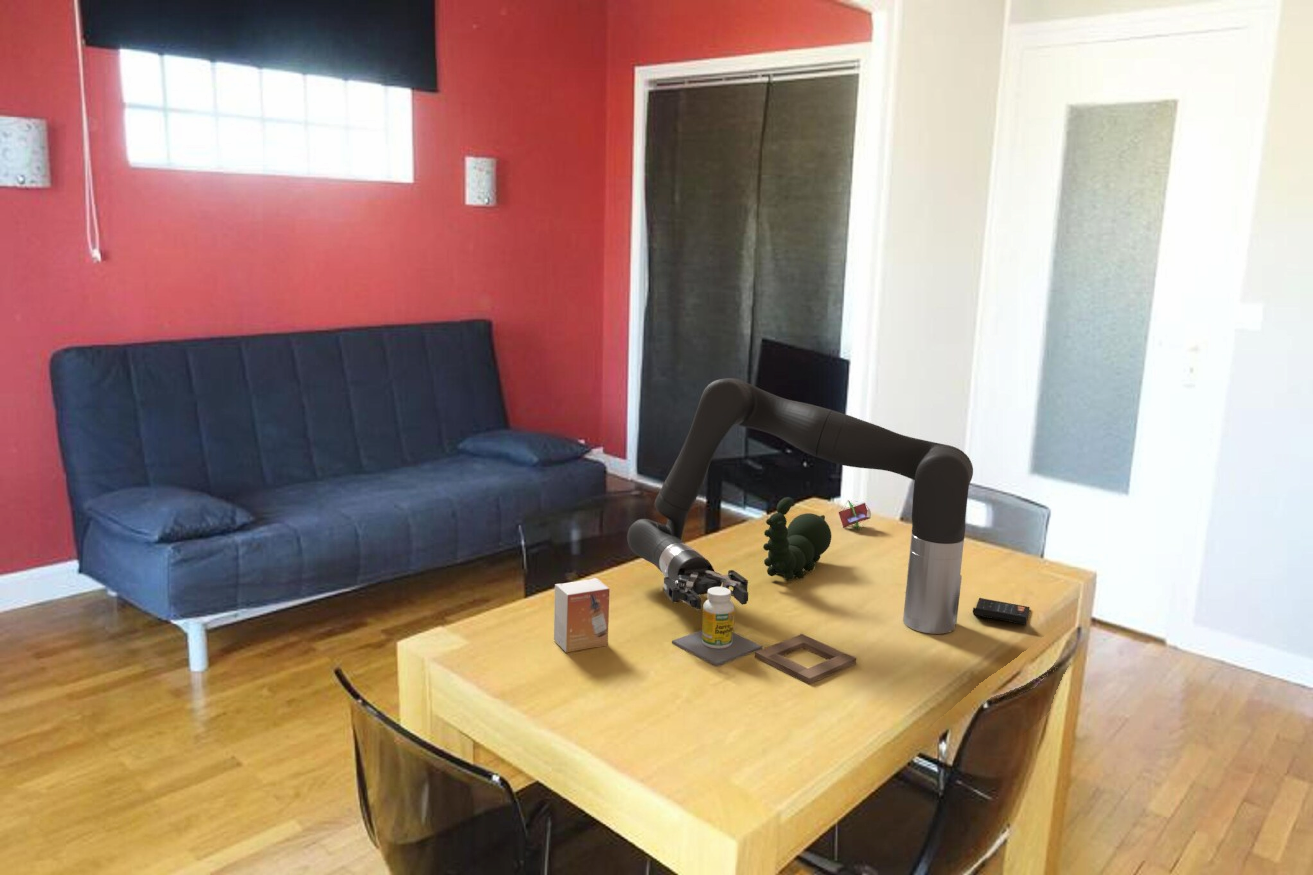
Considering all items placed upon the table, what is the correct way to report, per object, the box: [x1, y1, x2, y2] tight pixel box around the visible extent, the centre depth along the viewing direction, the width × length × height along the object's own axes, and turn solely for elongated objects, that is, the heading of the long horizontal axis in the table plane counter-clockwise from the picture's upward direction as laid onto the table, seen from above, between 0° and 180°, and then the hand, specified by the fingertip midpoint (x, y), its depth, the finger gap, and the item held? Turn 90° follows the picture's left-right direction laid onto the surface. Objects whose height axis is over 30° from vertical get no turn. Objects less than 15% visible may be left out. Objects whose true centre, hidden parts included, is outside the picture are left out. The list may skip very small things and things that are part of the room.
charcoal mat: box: [671, 629, 763, 667], centre depth 171 cm, size 11×11×1 cm
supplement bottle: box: [701, 586, 735, 649], centre depth 170 cm, size 5×5×10 cm
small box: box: [553, 577, 610, 653], centre depth 169 cm, size 8×6×10 cm
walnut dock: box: [754, 633, 857, 685], centre depth 167 cm, size 12×12×1 cm
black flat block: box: [972, 597, 1031, 625], centre depth 188 cm, size 9×12×3 cm
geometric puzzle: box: [837, 499, 872, 531], centre depth 236 cm, size 7×7×8 cm
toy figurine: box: [762, 496, 832, 581], centre depth 206 cm, size 9×19×25 cm
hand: (722, 601), depth 168 cm, fingers open, 8 cm apart
